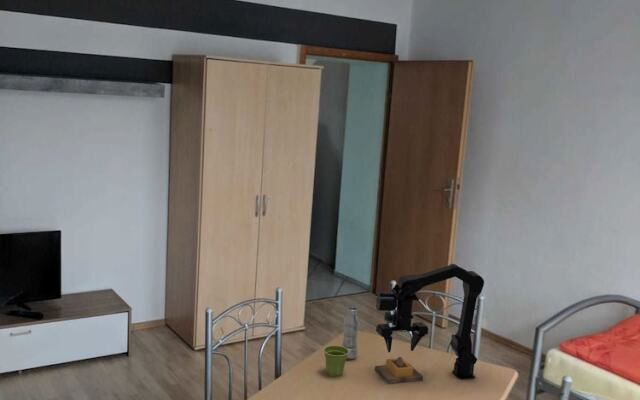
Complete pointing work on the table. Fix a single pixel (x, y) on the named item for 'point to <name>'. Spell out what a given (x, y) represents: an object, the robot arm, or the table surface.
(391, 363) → the tan rectangular frame
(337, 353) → the plant pot
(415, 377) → the keeper board
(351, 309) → the plastic bottle
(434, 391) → the table surface
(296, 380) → the table surface
